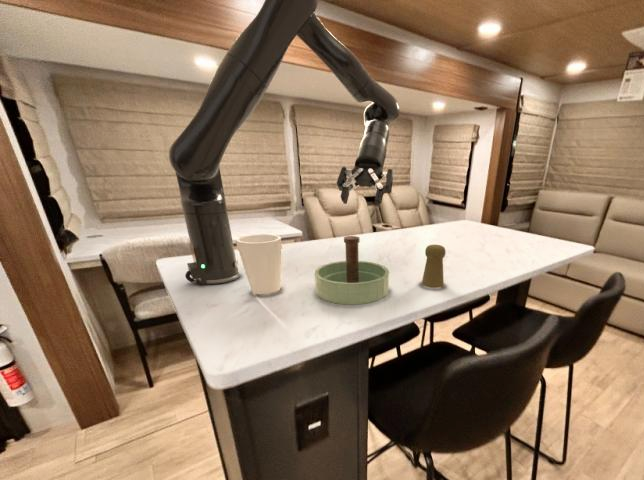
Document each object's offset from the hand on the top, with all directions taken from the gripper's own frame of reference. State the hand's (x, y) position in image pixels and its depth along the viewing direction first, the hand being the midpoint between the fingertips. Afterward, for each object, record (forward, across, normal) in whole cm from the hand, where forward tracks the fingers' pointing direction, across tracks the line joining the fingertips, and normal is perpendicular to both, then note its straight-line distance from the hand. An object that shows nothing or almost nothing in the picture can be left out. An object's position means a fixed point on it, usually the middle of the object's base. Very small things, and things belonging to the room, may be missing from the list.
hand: (360, 202), depth 78 cm
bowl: (+22, +1, +7) cm, 23 cm away
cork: (+15, +20, +14) cm, 29 cm away
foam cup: (+26, -19, +4) cm, 32 cm away
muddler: (+21, +1, +6) cm, 22 cm away
